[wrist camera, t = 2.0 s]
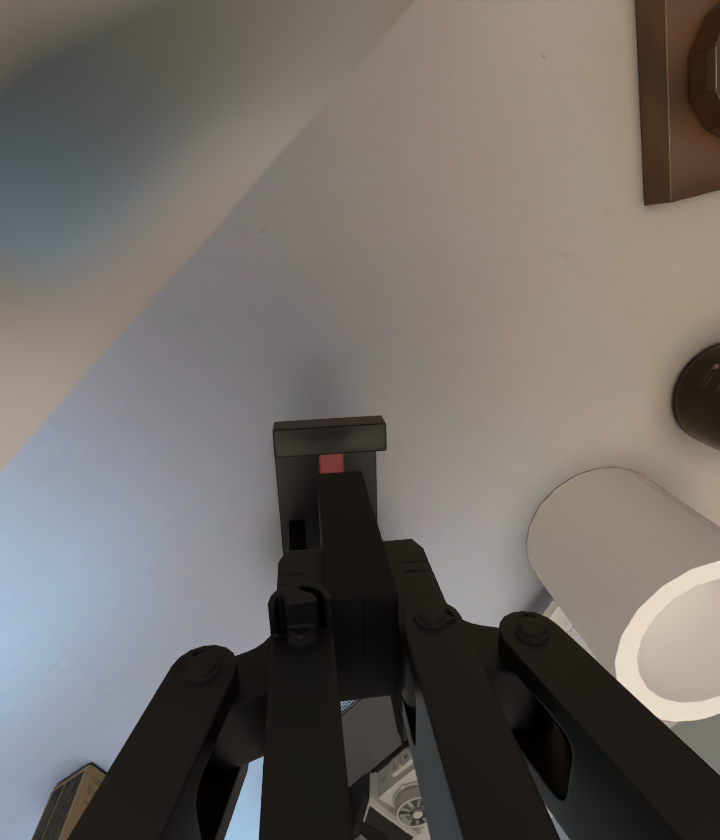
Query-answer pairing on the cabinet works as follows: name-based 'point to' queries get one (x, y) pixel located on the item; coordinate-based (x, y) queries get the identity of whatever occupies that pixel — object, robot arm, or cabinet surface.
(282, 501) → the lever switch
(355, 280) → the cabinet surface
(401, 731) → the camera
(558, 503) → the mug
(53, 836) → the ink box
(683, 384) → the supplement bottle
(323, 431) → the red lever
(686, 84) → the switch block
